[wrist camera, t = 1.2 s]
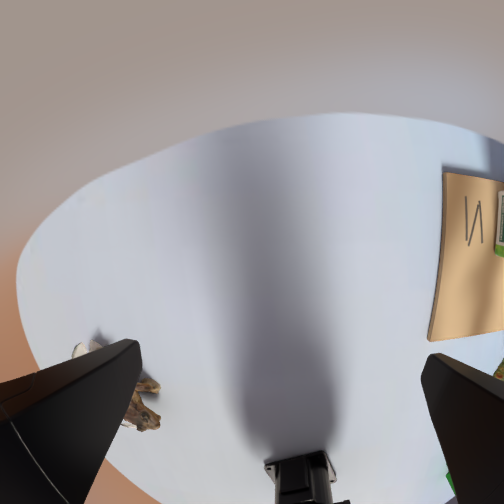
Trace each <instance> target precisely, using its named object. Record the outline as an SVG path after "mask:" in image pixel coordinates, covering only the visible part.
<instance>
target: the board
mask: <svg viewBox="0 0 504 504" xmlns="http://www.w3.org/2000/svg"><path fill="white" fill-rule="evenodd" d="M499 191H504V182H499V181H494V180H489V179H484V178H479V177H473V176H467V175H461V174H455V173H448V172H445V173H443V222H442V239H441V252H440V262H439V271H438V279H437V286H436V293H435V300H434V306H433V311H432V317H431V322H430V327H429V332H428V337H427V340H428V341H429V342H434V341H441V340H449V339H455V338H462V337H468V336H474V335H480V334H485V333H491V332H496V331H501V330H504V258H503V257H500V256H497V255H495V246H496V235H497V222H498V207H499V199H498V192H499Z"/></svg>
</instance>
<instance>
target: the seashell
mask: <svg viewBox="0 0 504 504" xmlns="http://www.w3.org/2000/svg"><path fill="white" fill-rule="evenodd" d="M493 377H495V378H498V379H500V380H502V381H504V358H503V360H502V363H501V364H500V365H499V366H498V369H497V370H496V371H495V372H494V374H493Z"/></svg>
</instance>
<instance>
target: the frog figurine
mask: <svg viewBox="0 0 504 504" xmlns="http://www.w3.org/2000/svg"><path fill="white" fill-rule="evenodd" d="M100 348H103V346H101V345H100V344H98V343H97V342H95V341H93V340H91V341H90V350H89V352H92V351H95V350H97V349H100ZM84 354H87V350H86V347H85V345H84V344H83V343H82V342H81V343H80V344H79V345H78V346H76V348H75V349H74V352H73V354H72V359H73V358H76V357H79V356H81V355H84ZM160 389H161V386H160V384H159V383H158V382H156V381H155V380H153V379H149V378H144V379H142V381H141V383H137V385H136V388H135V391H134V394H133V396H132V399H131V402H130V405H129V407H128V410H127V412H126V414H125V416H124V418H123V419H124V420H125V421H128V422H130V423H132V424H128V423H124V424H120V425H122V426H124V427H127V428H129V427H132V428H137V430H138V431H141V432H143V431H146V430H147V429H153V430H156V429H158V428H160V422H159V421H160V419H161V416H160V415H157V414H156V413H155V412H153V411H152V410H150V409H149V408H147V407H146V406H144V404H143V402H142V399H141V397H140V395H139V393H138V391H142V392H143V391H144V392H149V391H150V392H152V393H155V394H157V393H158V392H159V390H160ZM135 425H136V426H135Z"/></svg>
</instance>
